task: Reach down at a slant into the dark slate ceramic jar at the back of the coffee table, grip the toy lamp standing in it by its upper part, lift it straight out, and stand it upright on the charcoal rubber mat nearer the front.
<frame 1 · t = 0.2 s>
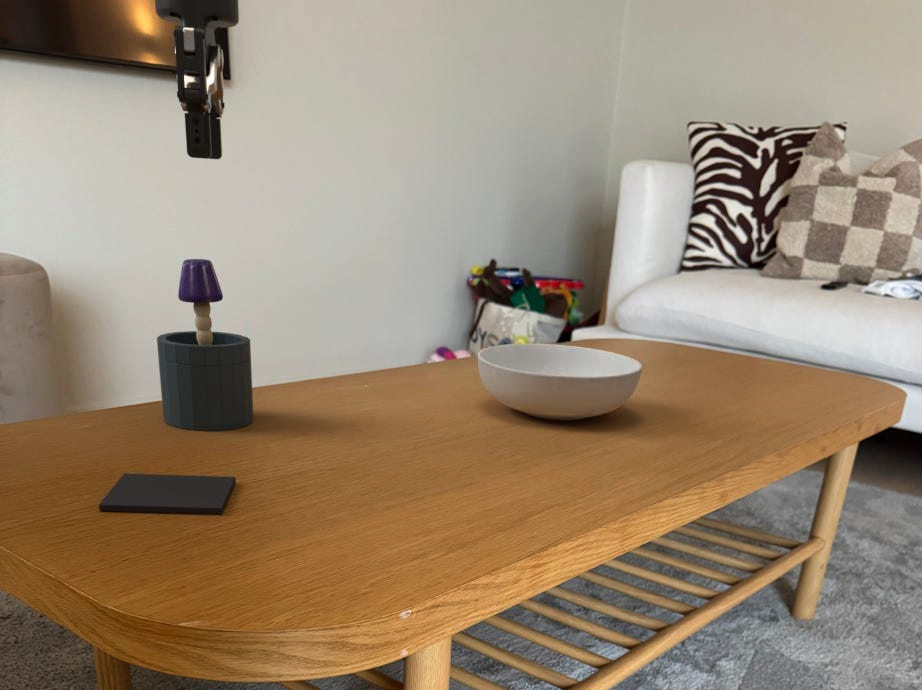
hand: (205, 158, 95), 27 cm above the table, tool pointing down, fingers open, 8 cm apart
jar: (209, 419, 109), on the table
mat: (171, 496, 84), on the table
toy lamp: (208, 418, 109), resting on jar
serving bowl: (554, 413, 124), on the table
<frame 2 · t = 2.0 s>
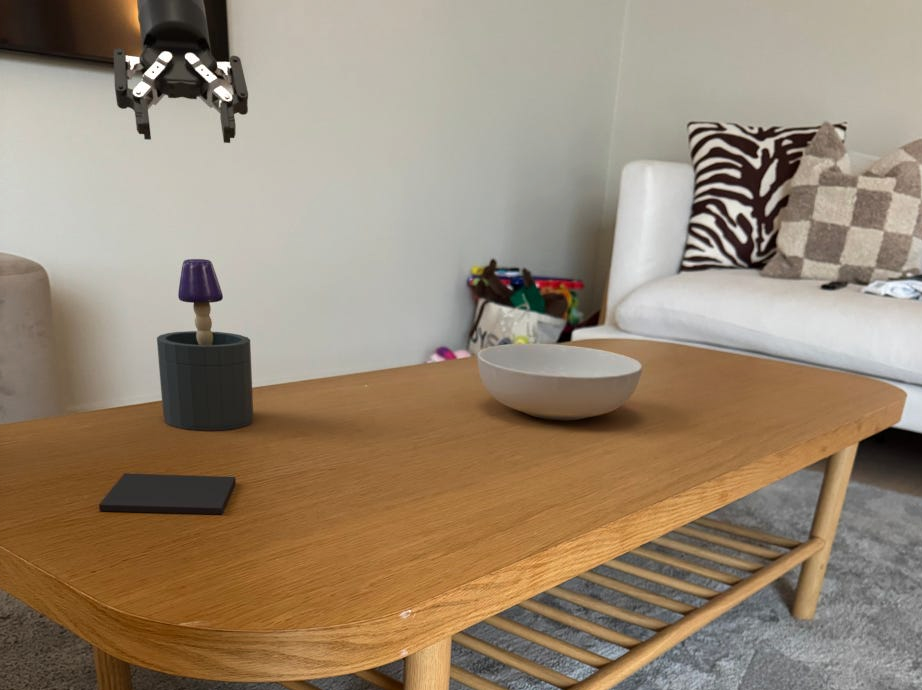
hand: (187, 135, 106), 29 cm above the table, tool tilted 45°, fingers open, 8 cm apart
nothing on the table moved.
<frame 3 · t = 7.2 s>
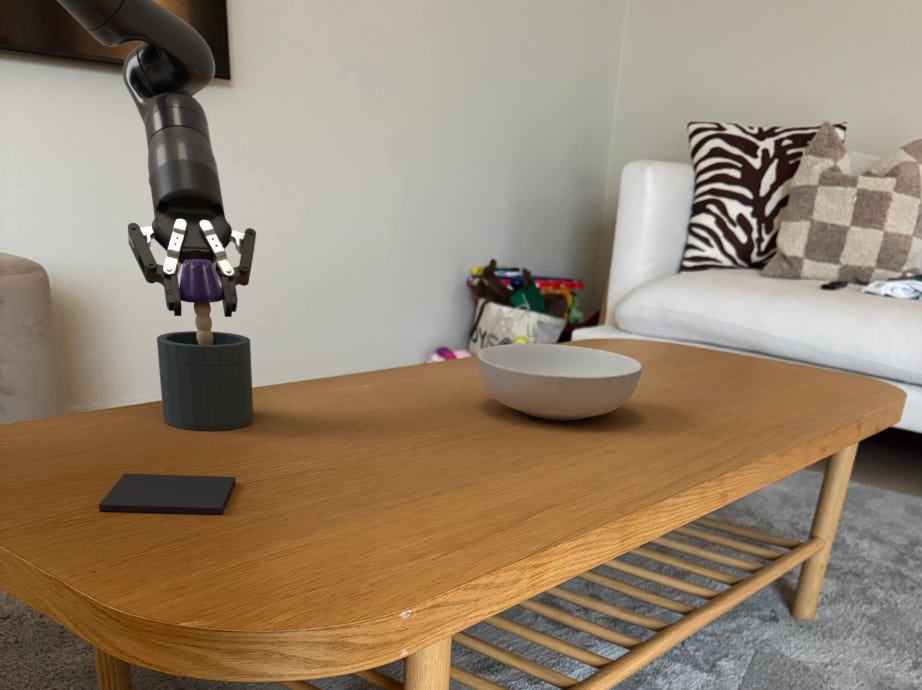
hand: (203, 311, 102), 12 cm above the table, tool tilted 45°, fingers closed on toy lamp, 4 cm apart
toy lamp: (208, 418, 109), resting on jar, touching gripper
everything else where it was.
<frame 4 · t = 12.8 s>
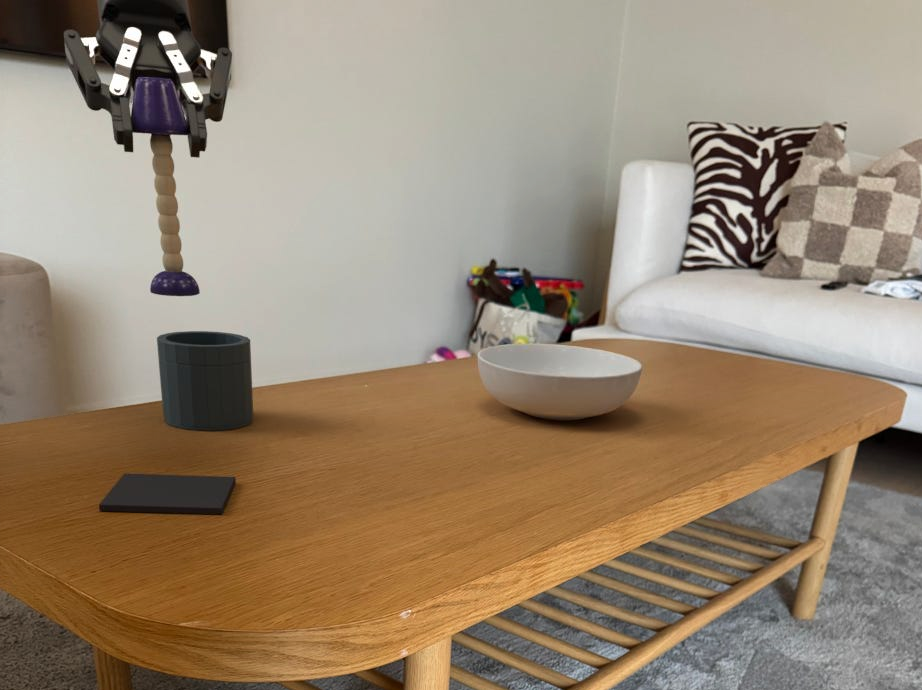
hand: (162, 146, 79), 28 cm above the table, tool tilted 45°, fingers closed on toy lamp, 4 cm apart
toy lamp: (171, 295, 86), point 16 cm above the table, touching gripper
everything else where it was.
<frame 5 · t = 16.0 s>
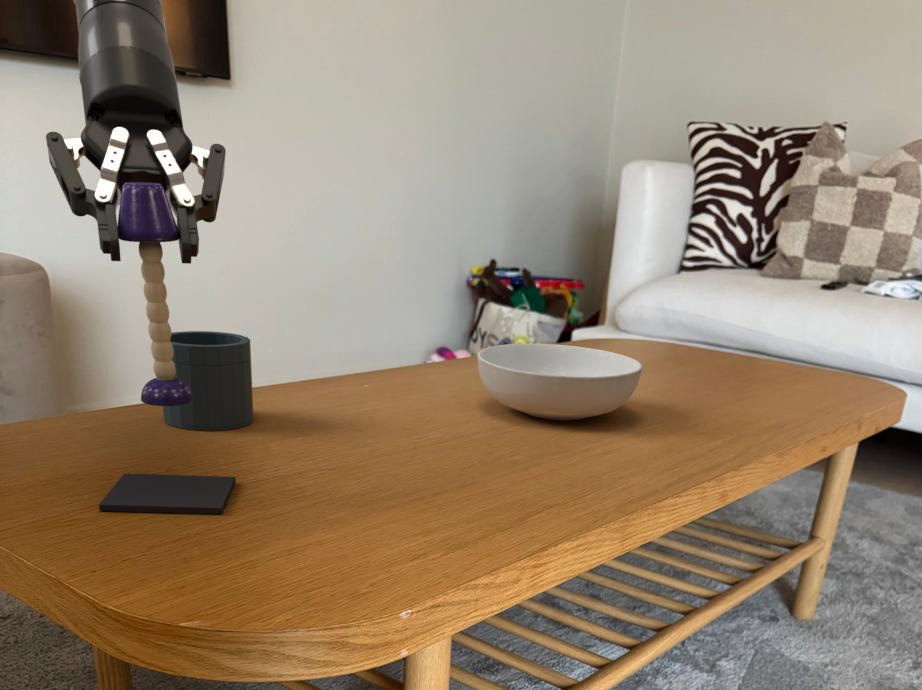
hand: (151, 254, 74), 20 cm above the table, tool tilted 45°, fingers closed on toy lamp, 4 cm apart
toy lamp: (163, 403, 81), point 8 cm above the table, touching gripper
everything else where it was.
when the fingers open (12 cm above the table, at t = 18.6 s): toy lamp stays where it is, resting on mat.
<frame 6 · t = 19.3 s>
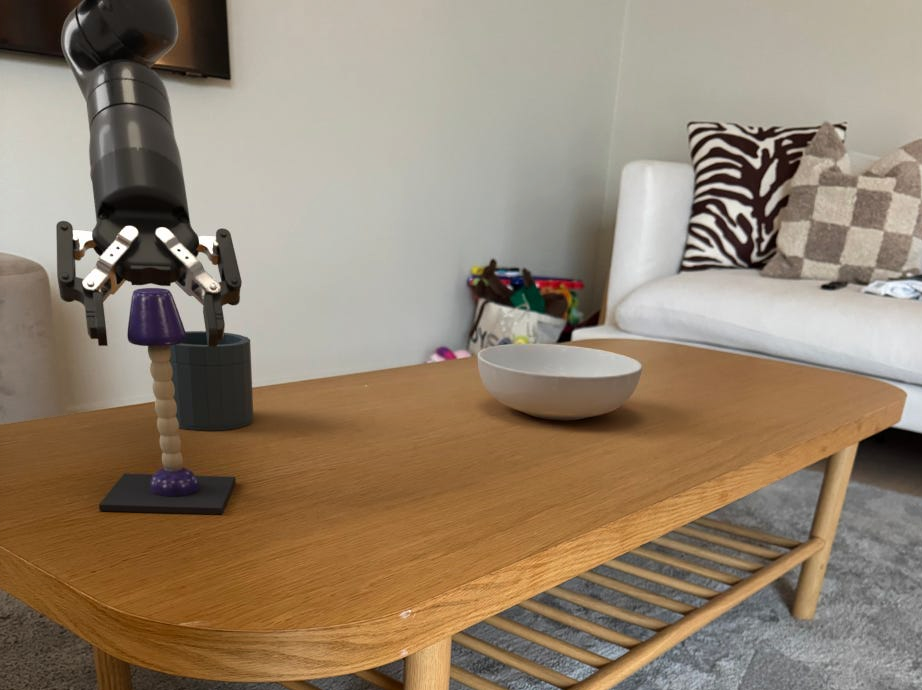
hand: (159, 340, 77), 14 cm above the table, tool tilted 45°, fingers open, 8 cm apart
toy lamp: (171, 491, 84), resting on mat
everything else where it was.
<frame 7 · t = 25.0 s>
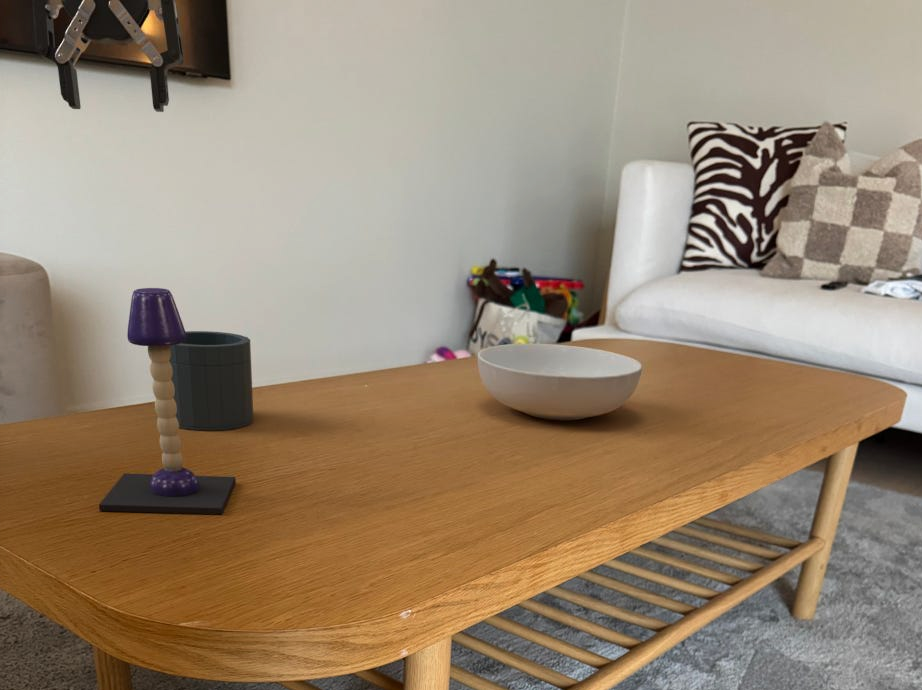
hand: (117, 109, 101), 31 cm above the table, tool pointing down, fingers open, 8 cm apart
nothing on the table moved.
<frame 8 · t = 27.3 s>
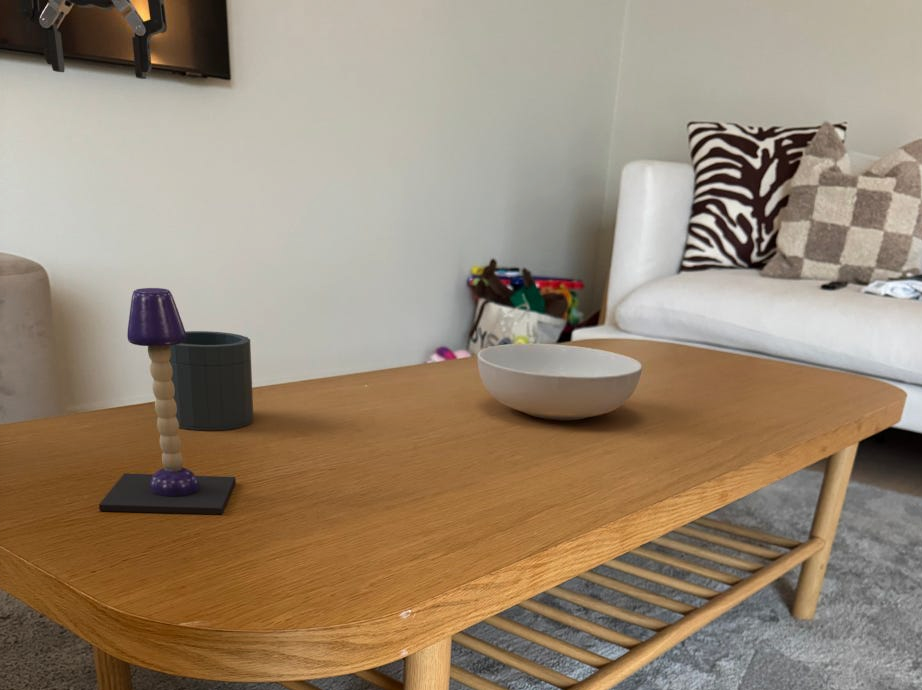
hand: (100, 75, 103), 34 cm above the table, tool pointing down, fingers open, 8 cm apart
nothing on the table moved.
at the end: toy lamp inside the target area on the mat (0.2 cm from its centre), point 0.4 cm above the mat's base; toy lamp tilted 0°; the gripper is holding nothing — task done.
